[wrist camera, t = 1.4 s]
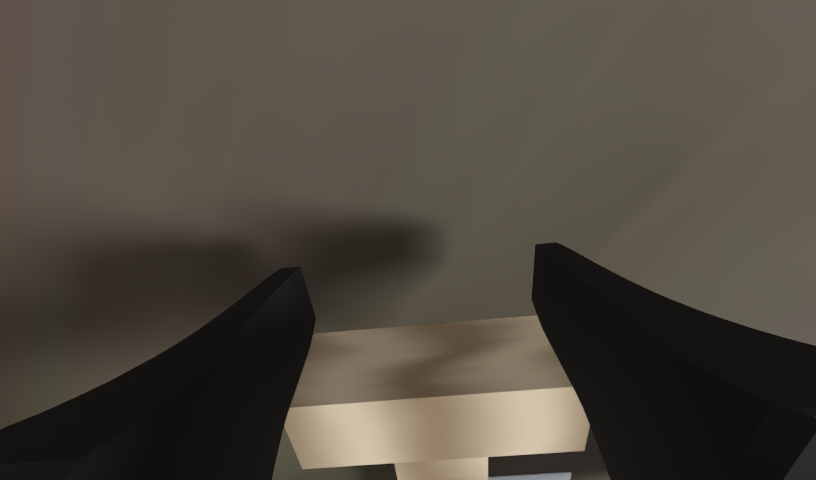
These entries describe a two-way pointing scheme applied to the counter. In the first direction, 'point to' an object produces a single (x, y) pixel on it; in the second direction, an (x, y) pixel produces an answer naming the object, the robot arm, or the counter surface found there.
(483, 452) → the t block
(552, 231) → the counter surface
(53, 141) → the counter surface
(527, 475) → the mat
